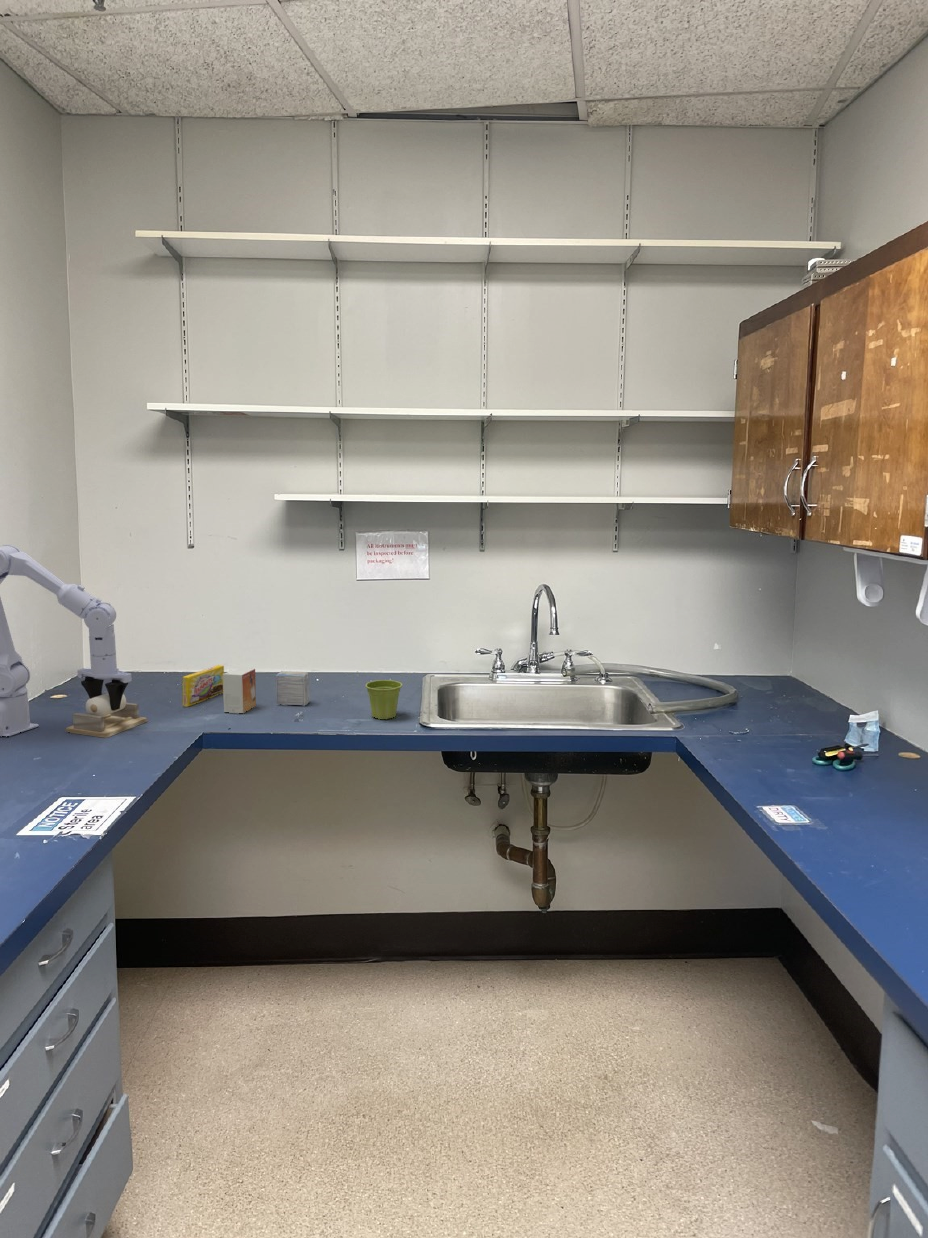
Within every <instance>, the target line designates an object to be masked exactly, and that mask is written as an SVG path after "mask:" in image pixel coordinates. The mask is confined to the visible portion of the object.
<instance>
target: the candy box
mask: <svg viewBox="0 0 928 1238" xmlns="http://www.w3.org/2000/svg"><path fill="white" fill-rule="evenodd" d="M224 673H225V666H224V665H221V664H217V665H215V666H213V667H208V668H206V669H203V670H199V671H195V672H194V673H190V674H188V675H184V676H182V707H186V708H188V707H191V706H194V705H196V703H197V704H198V703H201V702H205V701H207V700H209V699H208V698H210V699H212V698H214V696H215V697H216V695H217V696H219V695H218V694H220V695H221V693H222V694H223V674H224ZM206 699H207V700H206Z"/></svg>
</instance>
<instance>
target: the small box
mask: <svg viewBox="0 0 928 1238" xmlns="http://www.w3.org/2000/svg"><path fill="white" fill-rule="evenodd" d="M256 681H257V679H256V669H255V668H248V667H235V668H234V669H232V670H229V671H228V672H224V674H223V693H222V695H223V696H222V697H223V713H224V712H229V713H228V714H239V713H243V714H245V713H246V711H247V712H248V711H251V710H252V709H253V708H252V707H254V708H256V707H257V689H256V688H257V687H256V686H257V685H256ZM255 706H256V707H255ZM251 708H252V709H251Z"/></svg>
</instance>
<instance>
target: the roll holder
mask: <svg viewBox="0 0 928 1238" xmlns="http://www.w3.org/2000/svg"><path fill="white" fill-rule="evenodd" d="M139 707H140V706H139V703H134V702H133V703H132V702H126V706H125V708H124V709H122V710H119V711H116V712H114V713H111V714H108V715H105V716H96V715H88V713H87V714H86V713H78V712H76V713H73V714H72V720H73V722H72V724H73V725H71V726H70V725H69V726H68V727H65V733H68V732H70V733H69V734H78V735H82V736H91V737H97V738H105V739H107V738H110V737H111V736H115V735H117V734H120V733H122V732H125V731H127V730H130V729H133V728H135V727H138V726H139V725H143V724H145V723H148V717H142V716H140V711H139V710H140V709H139Z"/></svg>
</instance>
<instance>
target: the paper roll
mask: <svg viewBox="0 0 928 1238" xmlns="http://www.w3.org/2000/svg"><path fill="white" fill-rule="evenodd" d="M126 703H127V698H126V696H125V694H124V693H123V696H122V699H121V704H120V709H118V710H115V711H112V710H111V706H110V698H109V694H108V692H107V693H106V692H105V693H104V694H103V693H102V695H100V696H97V697H94V698H91V699H90V698H89V699H87V701H86V702H85V711H86V713H87V714H88V715H96V716H105V715H108V714H111V713H114V712H116V711H119V710H122V709H124V708H125V706H126Z"/></svg>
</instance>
